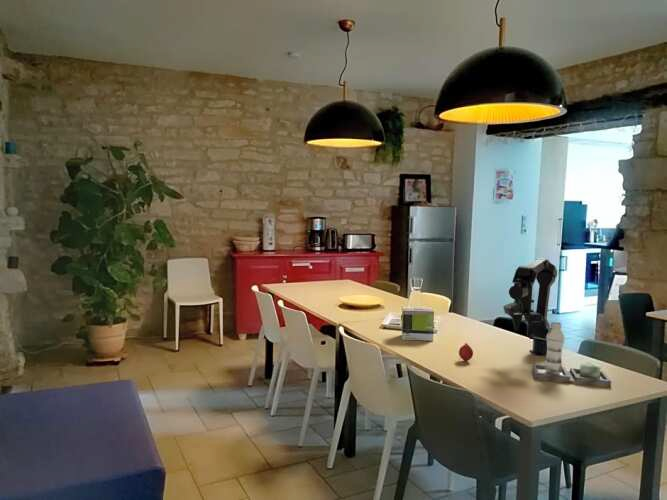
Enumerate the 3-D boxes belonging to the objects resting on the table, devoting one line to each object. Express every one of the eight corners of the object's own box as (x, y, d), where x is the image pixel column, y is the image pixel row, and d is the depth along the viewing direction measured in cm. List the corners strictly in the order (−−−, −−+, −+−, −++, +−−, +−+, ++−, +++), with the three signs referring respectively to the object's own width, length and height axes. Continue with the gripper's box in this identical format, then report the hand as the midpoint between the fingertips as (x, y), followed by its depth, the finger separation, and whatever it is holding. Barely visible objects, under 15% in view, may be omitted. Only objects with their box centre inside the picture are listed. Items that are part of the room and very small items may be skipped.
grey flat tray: (535, 379, 197) (536, 364, 196) (532, 370, 208) (533, 355, 208) (610, 387, 190) (611, 371, 189) (602, 377, 201) (604, 362, 201)
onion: (462, 358, 221) (463, 340, 221) (474, 361, 218) (475, 342, 217) (456, 361, 217) (457, 342, 216) (468, 364, 213) (469, 345, 213)
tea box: (431, 336, 258) (432, 307, 257) (433, 341, 248) (434, 311, 247) (401, 334, 260) (402, 306, 258) (401, 340, 250) (403, 310, 248)
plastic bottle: (552, 369, 205) (555, 320, 203) (566, 375, 199) (569, 324, 197) (539, 371, 202) (543, 321, 201) (553, 377, 196) (556, 325, 194)
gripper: (495, 293, 221) (493, 328, 222) (519, 301, 203) (517, 340, 204) (519, 292, 223) (516, 328, 224) (544, 300, 205) (542, 339, 206)
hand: (522, 333), depth 215 cm, fingers open, 9 cm apart
